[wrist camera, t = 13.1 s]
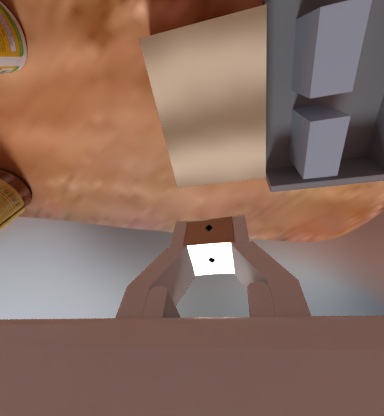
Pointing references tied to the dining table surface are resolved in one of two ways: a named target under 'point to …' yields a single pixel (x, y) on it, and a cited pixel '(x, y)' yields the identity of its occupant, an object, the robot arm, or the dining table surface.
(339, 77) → the tile
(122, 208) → the dining table surface
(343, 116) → the tile
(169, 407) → the robot arm
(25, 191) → the sauce bottle
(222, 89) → the board
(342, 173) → the tray
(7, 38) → the supplement bottle
